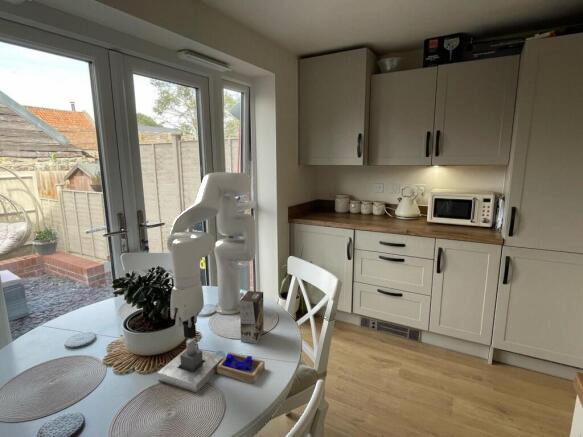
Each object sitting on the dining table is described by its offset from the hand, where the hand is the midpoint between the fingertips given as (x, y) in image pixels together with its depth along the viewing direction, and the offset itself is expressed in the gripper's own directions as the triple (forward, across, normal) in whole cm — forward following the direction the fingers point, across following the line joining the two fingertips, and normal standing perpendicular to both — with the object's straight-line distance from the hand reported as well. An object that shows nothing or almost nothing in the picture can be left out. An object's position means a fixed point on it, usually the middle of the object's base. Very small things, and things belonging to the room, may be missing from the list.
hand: (190, 336), depth 98 cm
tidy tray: (+12, -6, +14) cm, 19 cm away
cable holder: (+12, -7, +13) cm, 19 cm away
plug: (+12, 0, 0) cm, 12 cm away
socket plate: (+12, 0, 0) cm, 12 cm away
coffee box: (+12, -25, +8) cm, 29 cm away
